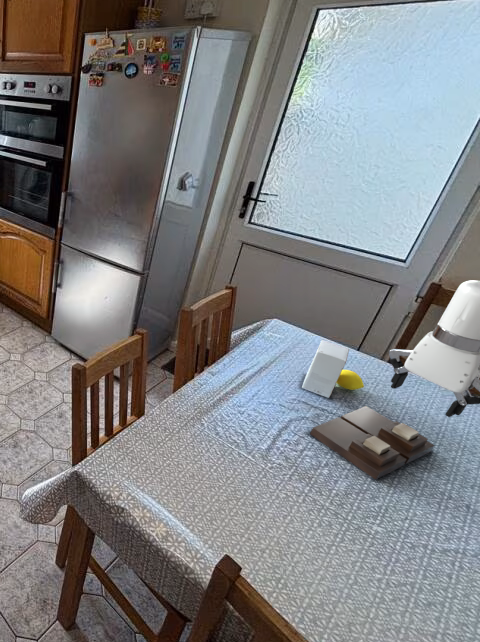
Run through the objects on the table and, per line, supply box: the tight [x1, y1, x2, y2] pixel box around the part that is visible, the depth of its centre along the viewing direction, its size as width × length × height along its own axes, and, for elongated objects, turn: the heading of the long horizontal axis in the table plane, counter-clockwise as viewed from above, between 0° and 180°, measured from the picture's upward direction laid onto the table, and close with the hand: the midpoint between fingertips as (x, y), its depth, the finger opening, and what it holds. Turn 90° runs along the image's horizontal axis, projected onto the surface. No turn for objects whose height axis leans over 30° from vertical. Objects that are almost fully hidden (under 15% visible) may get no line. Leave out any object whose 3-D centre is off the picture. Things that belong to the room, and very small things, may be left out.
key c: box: [392, 422, 420, 441], centre depth 98 cm, size 3×3×2 cm
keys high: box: [309, 416, 407, 480], centre depth 99 cm, size 14×10×4 cm
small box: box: [301, 339, 350, 399], centre depth 117 cm, size 8×6×13 cm
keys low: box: [340, 405, 435, 465], centre depth 102 cm, size 14×10×4 cm
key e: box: [363, 436, 390, 455], centre depth 95 cm, size 3×3×2 cm
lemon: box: [336, 369, 365, 391], centre depth 118 cm, size 7×5×5 cm
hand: (421, 400), depth 94 cm, fingers open, 9 cm apart
